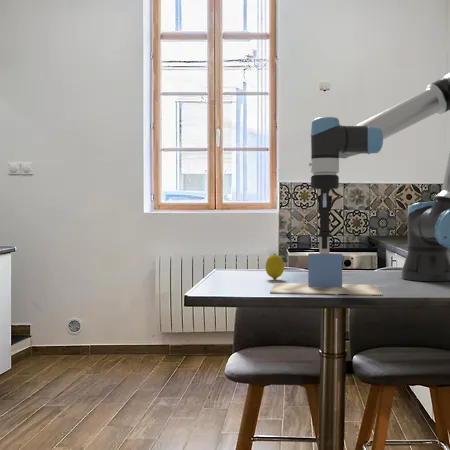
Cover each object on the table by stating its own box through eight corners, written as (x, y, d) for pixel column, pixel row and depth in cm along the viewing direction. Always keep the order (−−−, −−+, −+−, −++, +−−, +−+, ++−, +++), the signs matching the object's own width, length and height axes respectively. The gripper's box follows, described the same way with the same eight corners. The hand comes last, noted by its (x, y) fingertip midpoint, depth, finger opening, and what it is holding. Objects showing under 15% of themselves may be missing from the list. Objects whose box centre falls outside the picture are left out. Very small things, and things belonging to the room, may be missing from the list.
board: (376, 286, 163) (376, 284, 163) (382, 295, 145) (382, 294, 145) (275, 284, 168) (275, 283, 168) (269, 293, 150) (269, 291, 150)
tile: (341, 286, 160) (341, 253, 159) (342, 287, 158) (342, 254, 158) (308, 286, 161) (308, 253, 161) (308, 286, 159) (308, 253, 159)
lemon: (282, 281, 175) (282, 254, 175) (264, 280, 177) (264, 254, 176) (284, 278, 181) (284, 252, 181) (266, 278, 182) (266, 252, 182)
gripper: (311, 176, 168) (311, 258, 169) (310, 173, 155) (309, 262, 156) (338, 175, 167) (337, 258, 167) (339, 173, 154) (338, 262, 154)
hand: (324, 260), depth 161 cm, fingers closed
